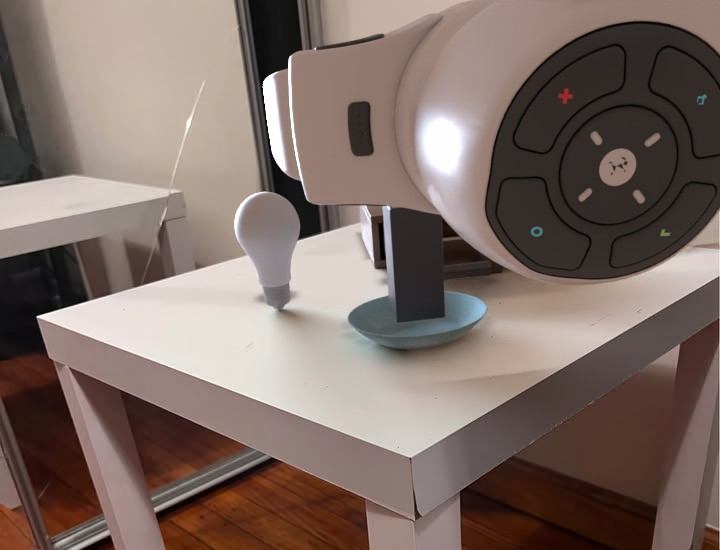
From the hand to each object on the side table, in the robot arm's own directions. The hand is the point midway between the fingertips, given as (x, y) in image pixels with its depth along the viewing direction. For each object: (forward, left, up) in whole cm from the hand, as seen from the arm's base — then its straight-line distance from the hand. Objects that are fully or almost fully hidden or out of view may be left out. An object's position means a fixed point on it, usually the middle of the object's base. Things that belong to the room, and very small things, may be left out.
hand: (432, 90), depth 47 cm
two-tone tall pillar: (0, -11, -17) cm, 20 cm away
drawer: (-5, -28, -19) cm, 34 cm away
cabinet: (-5, -41, -20) cm, 46 cm away
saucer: (0, -11, -20) cm, 23 cm away
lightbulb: (+12, -23, -20) cm, 33 cm away
